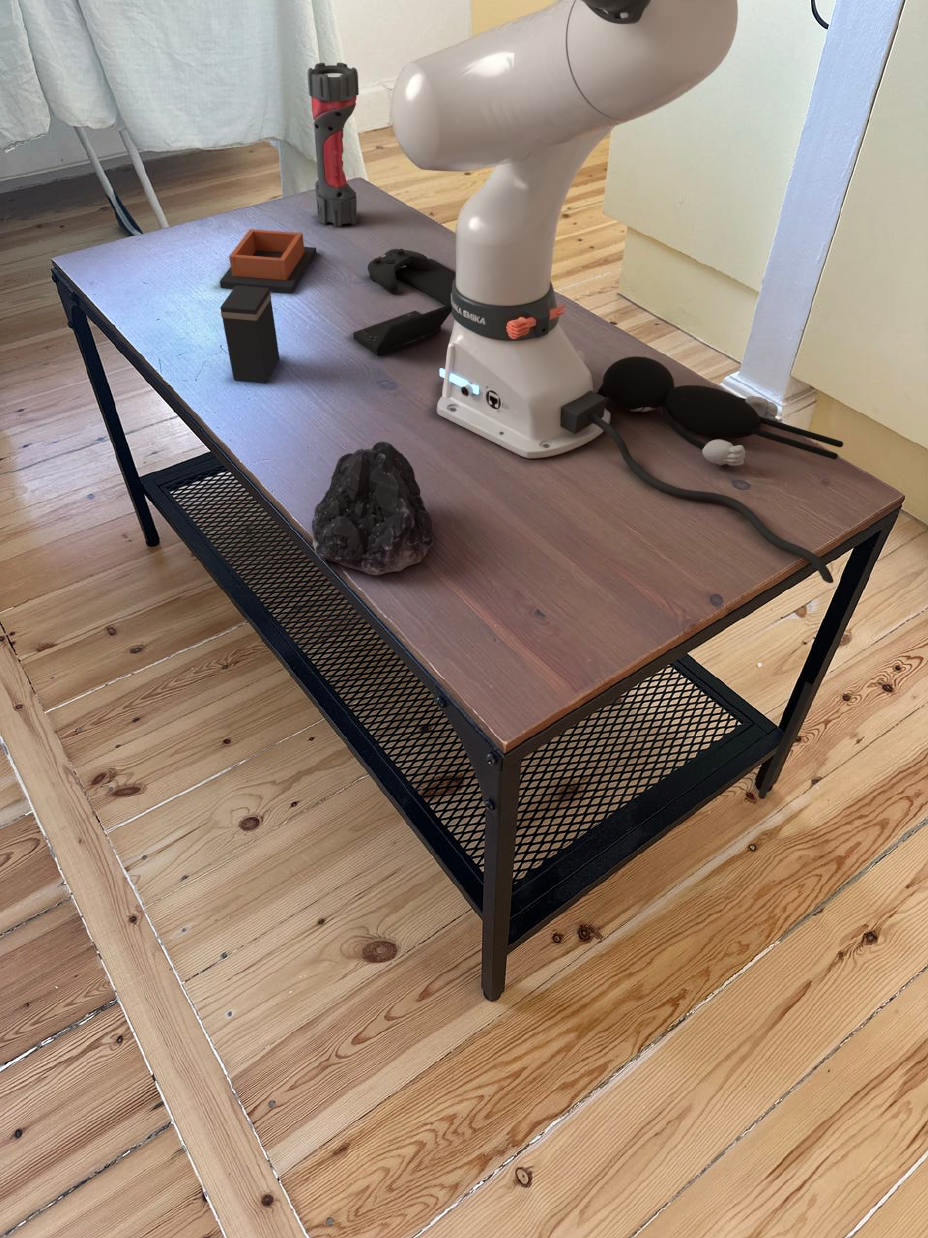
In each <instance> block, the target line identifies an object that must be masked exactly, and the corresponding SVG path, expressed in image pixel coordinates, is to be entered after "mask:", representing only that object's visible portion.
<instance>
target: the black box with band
mask: <svg viewBox="0 0 928 1238" xmlns="http://www.w3.org/2000/svg"><path fill="white" fill-rule="evenodd" d="M219 308H220V316H221V319H222V323H223V330H224V334H225V339H226V340H225V341H226V344H227V345H226V346H227V351H228V356H229V362H230V367H231V373H232V377H233V381H239V382H251V383H261V384H267V383H268V381H269V380H270V378H271V376H272V375H273V372H274V371H275V369H276V367H277V365H278V364H279V363H280V360H281V359H280V353H279V352H280V351H279V344H278V338H277V331H276V325H275V324H276V323H275V318H274V317H275V316H274V310H273V309H274V308H273V303H272V292H270V289H269V288H262V287H250V286H237V285H236V286H235V288H234V289H232V290H231V292H230V293H229V294H228V296H227V297H226V299H225V300H224V301H223V303H222V304H221V306H220V307H219Z"/></svg>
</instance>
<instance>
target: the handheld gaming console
mask: <svg viewBox="0 0 928 1238" xmlns="http://www.w3.org/2000/svg"><path fill="white" fill-rule="evenodd" d="M450 314H452V304H450V305H444V306H442V307H438V308H436V309H433V310H431V311H428V312H425V313H421V312H419V311H418V310H412V311H409V312H407V313H404V314H401V315H397V316H396V317H392V318H390V319H387V320H384V321H382V322H379V323H375V324H373V325H369V326H367V327H364V328H362V329H359V330H357V331H354V332H353V333H352V335H353V336H352V337H353V340H354V341H356V342H357V343H359V344H360V345H362V346H363V347H364V348H366V349H367V350H368V351H370V352H371V353H373V354H374V355H376V356H381V355H383V354H386V353H388V352H391V351H395V350H397V349H399V348H402V347H403V346H406V345H408V344H410V343H414V342H418V341H420V340H423V339H426V338H429V337H431V336H434V335H436V334H437V335H438V334H440V333H441V332H442V326H443V324H444V323H445V321H446V320H447V319H448V318H449V316H450Z"/></svg>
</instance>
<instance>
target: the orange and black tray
mask: <svg viewBox="0 0 928 1238" xmlns="http://www.w3.org/2000/svg"><path fill="white" fill-rule="evenodd" d="M316 255H317V247H314V246H313V247H312V246H305V243H304V235H303V232H294V231H293V232H292V231H291V232H290V231H279V230H268V229H267V230H266V229H265V230H264V229H255V228H250V229H249V230H248V231H247V232H246V234H245V235H244V236H243V238H242V239H241V240H240V241H239V242H238V244H237V245H236V247H234V249H233V250H232V252H230V254H229V256H228V258H229V259H228V260H229V264H230V266H229V268H228V269H227V271H226V272H225V273H224V275H223V276H222V278H220V280H219V287H220V289H232V290H233V289H234V288H235V286H236V285H237V286H250V287H262V288H269V289H270V293H281V294H293V293H294V291H295V290H296V288H297V286H298V285H299V283H300V282H301V280H302V278H303V277H304V275H305V274H306V272H307V270H308V269H309V267H310V266H311V263H312V262H313V260H314V259H315V257H316Z"/></svg>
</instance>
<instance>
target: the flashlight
mask: <svg viewBox="0 0 928 1238" xmlns="http://www.w3.org/2000/svg"><path fill="white" fill-rule="evenodd" d="M307 86H308V95H309V96H310V99H311V113H312V114H311V115H312V119H313V129H314V144H315V155H316V168H317V178H318V180H316V181H315V183H314V186H315V197H316V208H317V209H316V210H317V216H318V217H319V219H320V222H321V223H322V224H324V225H327V224H328V223H332V224H333V226H334V227H338V228H339V227H340V228H341V227H342V226H343V225H346V224H350V225H352V226H353V225H355V224H356V223H358V213H357V212H358V210H357V207H358V206H357V205H358V202H357V201H358V200H357V192H356V191H355V190H354V189H353V188H352V187H351V186H350V185H349V183H348V181H347V177H346V173H345V171H344V169H343V168H344V161H343V154H344V142H343V140H344V129H345V126H346V123H347V121H348V119H349V118H350V117H351V116H352V114H353V113H354V111H355V108H356V106H357V102H356V101H357V98H358V97H357V96H359V93H360V89H359V73H358V69H357V68H355V67H348V64H347V63H344V62H340V61H339V62H336V65H333V64H330V65H326V63H325V62H318V63H316V64H315V65H314V68H312V67H310V68H308V69H307Z"/></svg>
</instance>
